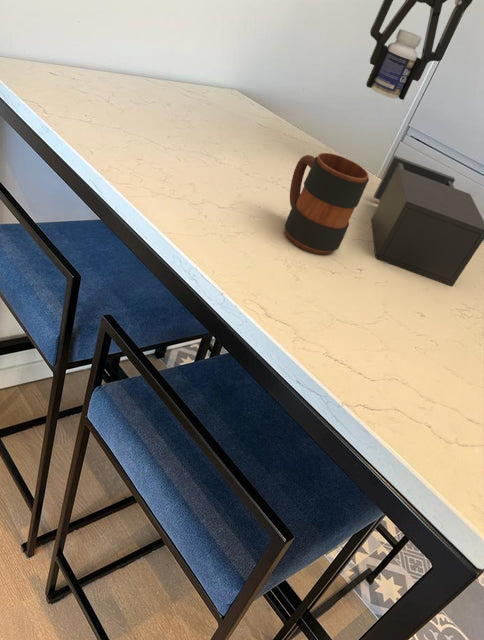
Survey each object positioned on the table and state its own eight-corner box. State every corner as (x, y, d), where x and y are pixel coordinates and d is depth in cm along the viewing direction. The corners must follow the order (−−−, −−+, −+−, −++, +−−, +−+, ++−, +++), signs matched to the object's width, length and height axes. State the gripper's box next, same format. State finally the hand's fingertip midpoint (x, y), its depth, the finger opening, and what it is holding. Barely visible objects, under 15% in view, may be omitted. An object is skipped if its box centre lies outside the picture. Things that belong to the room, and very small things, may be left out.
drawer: (372, 186, 109) (391, 146, 104) (427, 206, 109) (449, 168, 104) (377, 225, 94) (400, 181, 89) (441, 249, 95) (468, 206, 90)
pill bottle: (396, 101, 99) (424, 40, 93) (367, 89, 99) (394, 28, 93) (399, 96, 103) (426, 38, 97) (371, 85, 104) (397, 26, 98)
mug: (298, 212, 91) (328, 141, 84) (348, 254, 84) (385, 181, 77) (257, 214, 86) (285, 138, 78) (307, 258, 79) (342, 180, 72)
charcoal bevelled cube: (371, 219, 98) (397, 167, 92) (439, 244, 98) (470, 193, 92) (375, 258, 86) (406, 201, 80) (452, 286, 87) (489, 231, 81)
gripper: (504, -44, 90) (430, 104, 104) (396, -86, 90) (336, 69, 104) (516, -42, 84) (435, 114, 98) (400, -87, 84) (335, 78, 98)
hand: (384, 91), depth 101 cm, fingers closed on pill bottle, 5 cm apart
